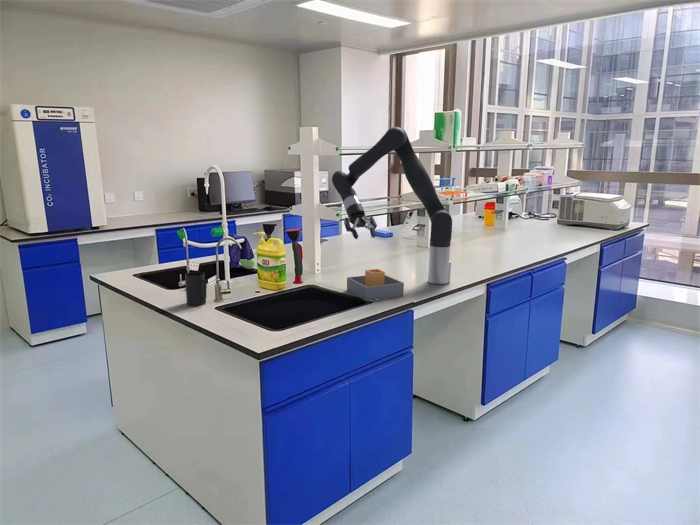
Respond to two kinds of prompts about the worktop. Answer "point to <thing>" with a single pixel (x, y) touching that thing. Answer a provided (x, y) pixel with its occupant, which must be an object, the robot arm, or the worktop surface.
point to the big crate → (375, 288)
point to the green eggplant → (248, 262)
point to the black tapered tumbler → (195, 288)
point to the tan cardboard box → (374, 277)
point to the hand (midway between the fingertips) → (365, 237)
